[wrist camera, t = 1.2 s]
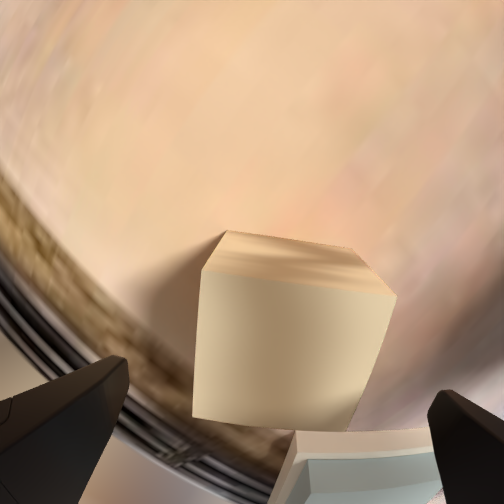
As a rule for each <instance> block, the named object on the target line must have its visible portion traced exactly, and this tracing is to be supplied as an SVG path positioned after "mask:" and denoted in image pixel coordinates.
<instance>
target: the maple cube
mask: <svg viewBox="0 0 504 504" xmlns="http://www.w3.org/2000/svg"><path fill="white" fill-rule="evenodd" d="M396 300H397V296H396V295H395V293H394V292H393V291H392V290H391V289H390V288H389V287H388V286H387V285H386V284H385V283H384V282H383V281H382V280H381V278H380V277H379V276H378V275H377V274H376V273H375V272H374V271H373V270H372V269H371V268H370V267H369V266H368V265H367V264H366V263H365V262H364V261H363V260H362V259H361V258H360V257H359V256H358V255H357V254H356V253H355V252H354V251H353V250H352V249H350V248H344V247H338V246H331V245H325V244H318V243H312V242H305V241H299V240H292V239H285V238H278V237H272V236H265V235H258V234H251V233H244V232H237V231H230V230H227V231H226V233H225V234H224V236H223V237H222V239H221V240H220V242H219V244H218V245H217V247H216V248H215V250H214V251H213V253H212V254H211V256H210V257H209V259H208V261H207V262H206V264H205V265H204V267H203V268H202V270H201V281H200V293H199V306H198V319H197V334H196V349H195V367H194V387H193V412H192V417H196V418H201V419H206V420H212V421H218V422H224V423H231V424H238V425H246V426H254V427H263V428H273V429H284V430H298V431H319V432H345V431H346V429H347V427H348V425H349V423H350V421H351V419H352V416H353V414H354V412H355V410H356V408H357V405H358V403H359V401H360V399H361V396H362V394H363V392H364V389H365V387H366V384H367V382H368V379H369V377H370V374H371V372H372V369H373V367H374V364H375V362H376V359H377V356H378V354H379V351H380V348H381V345H382V343H383V340H384V337H385V334H386V331H387V328H388V325H389V322H390V319H391V316H392V313H393V310H394V306H395V303H396Z"/></svg>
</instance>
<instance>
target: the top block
mask: <svg viewBox="0 0 504 504" xmlns="http://www.w3.org/2000/svg"><path fill="white" fill-rule="evenodd" d="M441 488H442V483H441V479H440V475H439V471H438V467H437V464H436V460H435V455H434V452H429V453H422V454H415V455H407V456H398V457H387V458H373V459H352V460H310V459H308V460H307V462H306V464H305V466H304V468H303V470H302V472H301V474H300V476H299V478H298V480H297V482H296V484H295V486H294V487H293V489H292V491H291V493H290V495H289V497H288V498H287V500H286V502H285V504H427V503H428V502H429V501H430V500H431V499H432V498H433V497H434V496H435V495H436V494H437V493H438V492H439V491H440V489H441Z"/></svg>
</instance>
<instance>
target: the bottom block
mask: <svg viewBox="0 0 504 504" xmlns="http://www.w3.org/2000/svg"><path fill="white" fill-rule="evenodd" d="M429 452H434V450H433V444H432V439H431V433H430V428H429V427H424V428H414V429H402V430H387V431H357V432H319V431H298V430H295V433H294V436H293V439H292V442H291V444H290V447H289V450H288V453H287V455H286V458H285V460H284V463H283V466H282V468H281V471H280V473H279V476H278V478H277V481H276V483H275V486H274V488H273V491H272V493H271V495H270V498H269V500H268V502H267V504H285V502H286V500H287V498H288V497H289V495H290V493H291V491H292V489H293V487H294V486H295V484H296V482H297V480H298V478H299V476H300V474H301V472H302V470H303V468H304V466H305V464H306V462H307V460H308V459H310V460H352V459H373V458H387V457H398V456H407V455H415V454H422V453H429Z"/></svg>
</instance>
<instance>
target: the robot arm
mask: <svg viewBox="0 0 504 504" xmlns="http://www.w3.org/2000/svg"><path fill="white" fill-rule="evenodd" d="M129 383H130V381H129V371H128V362H127V360H126V359H125V358H124V357H120V356H116V355H111V356H108V357H106V358H104V359H102V360H99V361H97V362H95V363H92V364H90V365H88V366H85V367H83V368H81V369H78V370H76V371H74V372H71V373H69V374H67V375H64V376H62V377H59V378H57V379H55V380H52V381H50V382H47V383H45V384H42V385H40V386H38V387H35V388H33V389H30V390H28V391H25V392H23V393H20V394H18V395H15V396H13V398H11V397H10V398H7V399H5V400H2V401H0V504H78V502H79V500H80V498H81V496H82V494H83V491H84V490H85V487H86V485H87V483H88V481H89V479H90V477H91V475H92V473H93V471H94V469H95V467H96V465H97V463H98V461H99V459H100V457H101V455H102V453H103V451H104V448H105V447H106V445H107V443H108V441H109V439H110V437H111V435H112V432H113V430H114V427H115V425H116V422H117V419H118V416H119V414H120V411H121V408H122V405H123V403H124V400H125V397H126V394H127V392H128V389H129ZM427 418H428V423H429V428H430V433H431V439H432V444H433V450H434V455H435V460H436V464H437V467H438V471H439V475H440V479H441V483H442V487H443V491H444V495H445V499H446V504H504V421H503V420H502V419H500V418H498V417H497V416H495V415H493V414H492V413H490V412H488V411H487V410H485V409H483V408H481V407H480V406H478V405H476V404H475V403H473V402H471V401H470V400H468V399H466V398H465V397H463V396H461V395H460V394H458V393H456V392H455V391H453V390H441V391H439V392H438V393H437V395H436V397H435V399H434V401H433V403H432V404H431V406H430V408H429V410H428V414H427Z"/></svg>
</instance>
